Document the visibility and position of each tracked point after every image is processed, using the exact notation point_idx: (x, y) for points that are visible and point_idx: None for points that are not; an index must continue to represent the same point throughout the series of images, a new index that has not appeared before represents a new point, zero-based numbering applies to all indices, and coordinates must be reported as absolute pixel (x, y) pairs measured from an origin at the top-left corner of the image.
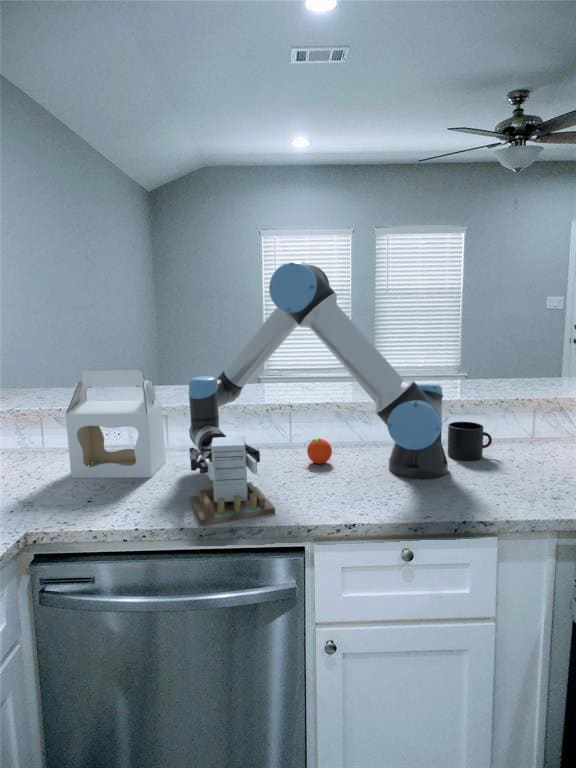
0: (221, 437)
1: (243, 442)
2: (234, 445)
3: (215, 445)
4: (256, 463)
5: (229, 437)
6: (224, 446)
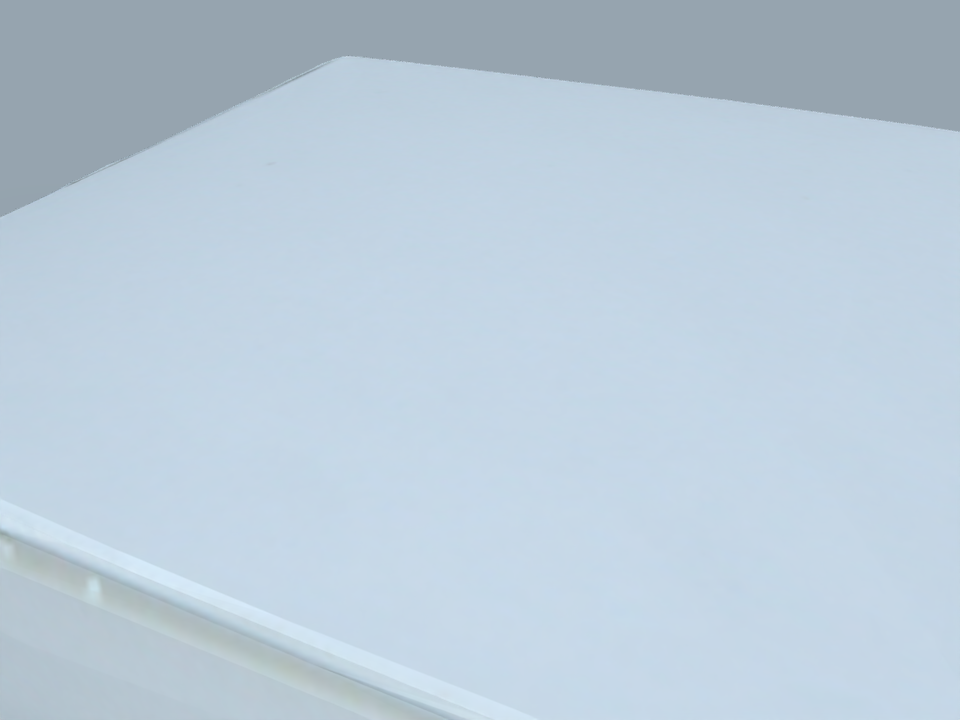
0: (525, 665)
1: (244, 104)
2: (511, 74)
3: (928, 141)
4: None
5: (206, 444)
6: (712, 111)
